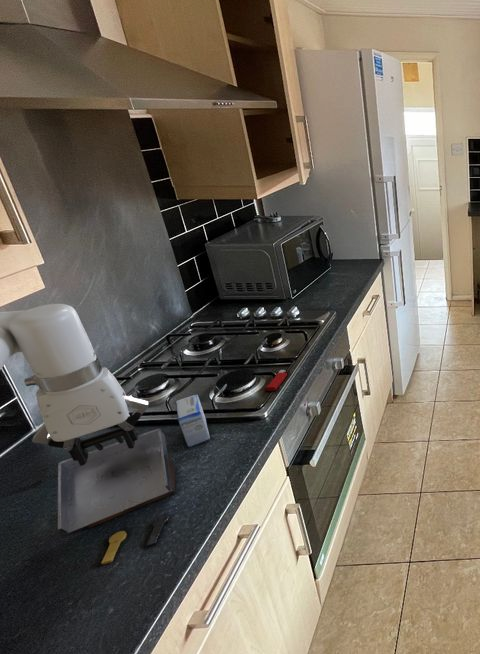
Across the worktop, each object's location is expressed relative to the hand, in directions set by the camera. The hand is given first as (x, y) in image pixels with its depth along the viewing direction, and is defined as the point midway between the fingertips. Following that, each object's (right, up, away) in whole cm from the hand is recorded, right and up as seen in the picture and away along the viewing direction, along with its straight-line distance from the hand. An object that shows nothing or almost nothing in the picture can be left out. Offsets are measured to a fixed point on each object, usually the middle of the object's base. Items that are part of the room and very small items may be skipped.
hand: (109, 451), depth 78 cm
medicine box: (0, -6, +23) cm, 23 cm away
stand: (-1, -12, +7) cm, 14 cm away
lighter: (+9, +2, +41) cm, 42 cm away
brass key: (+4, -16, -3) cm, 17 cm away
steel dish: (+1, -6, +1) cm, 7 cm away
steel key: (+9, -15, 0) cm, 18 cm away
